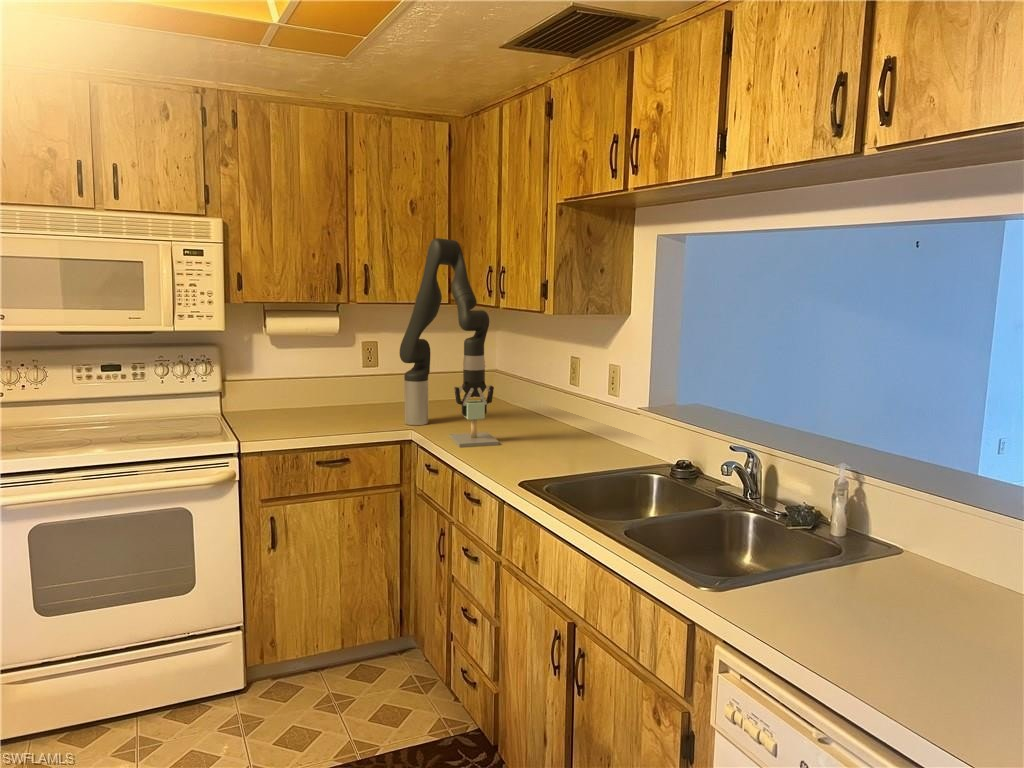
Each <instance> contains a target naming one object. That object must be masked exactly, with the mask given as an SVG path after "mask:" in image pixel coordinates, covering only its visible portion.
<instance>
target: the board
mask: <svg viewBox="0 0 1024 768" xmlns="http://www.w3.org/2000/svg"><path fill="white" fill-rule="evenodd" d="M477 424H478V419H470V432H465V433H462V432H461V433H450V434H449V438H450V439H451V440H452V441H453V442H454V444H455V445H457V446H458V447H459V448H473V447H487V446H489V447H490V446H499V445H500V441H499V440H498V439H496V438H495V436H493V435H492V434H490V432H488V431H484V432H483V431H482V432H478V430H477V428H478V427H477V426H478V425H477Z"/></svg>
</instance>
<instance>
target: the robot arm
mask: <svg viewBox="0 0 1024 768" xmlns="http://www.w3.org/2000/svg"><path fill="white" fill-rule="evenodd" d="M425 259H426V260H425V263H424V269H423V274H422V279H421V282H420V285H419V289H418V292H417V295H416V298H415V302H414V306H413V309H412V313H411V316H410V320H409V323H408V325H407V328H406V330H405V332H404V336H403V337H402V340H401V343H400V345H399V358H400V360H401V362H402V363H404V364H413V367H412V368H410V370H408V371H406V372H405V373H404V376H403V377H404V381H403V382H404V424H405V425H407V426H408V425H409V426H410V425H411V426H423V425H428V424H429V375H430V372H431V347H430V344H429V342H428V340H426V339H425V338H421V336H422V333H424V331H425V329H426V328H427V327H428V326H430V325H431V324H432V322H433V321H434V319H435V318H436V317H437V316H438V313H439V311H440V307H441V304H442V300H443V299H442V298H443V296H442V291H441V287H440V285H439V282H438V271H439V267H440V266H441V265H443V266H450V267H452V268H451V269H452V270H453V272H454V275H453V279H452V283H451V293H452V296H453V299H454V301H455V304H456V308H457V316H458V317H457V318H458V325H459V327H460V328H461V330H463V331H465V332H474V331H475V332H474V334H473V335H472V336H470V337H467V338H465V340H463V342H464V343H463V363H462V367H463V368H462V369H463V370H462V375H463V377H462V378H463V379H462V380H463V381H462V386H454V388H453V389H454V395H455V403H457V405H460V406H461V414H462V415H463V417H464V416H467V406H466V404H467V402H468V401H470V399H471V398H479V399H480V400H481V401H482V402H484V403H485V415H486V414H487V411H488V410H487V408H488V407H487V406H488V404H491V403H492V402H493V397H494V396H493V394H494V389H495V388H494V386H493V385H492V384H491V385H490V384H489V385H487V384H486V360H485V344H486V343H485V342H486V339H487V333H488V331H489V327H490V317H489V314H488V312H487V311H485V310H482V309H481V310H477V309H475V310H473V309H474V308H475V307H476V306H477V302H478V301H477V297H476V295H475V293H474V291H473V289H472V286H471V283H470V280H469V277H468V273H467V268H466V267H467V266H466V263H465V258H464V254H463V250H462V247H461V244H460V243H459V242H458V241H457V240H454V239H447V238H438V237H435V238H433V239H432V240H431V241H430V243H429V247H428V249H427V253H426V258H425ZM462 390H463V391H464V395H463V398H461V393H462ZM485 390H486V391H487V398H486V397H485V395H484V391H485Z"/></svg>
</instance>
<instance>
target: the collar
mask: <svg viewBox="0 0 1024 768" xmlns="http://www.w3.org/2000/svg"><path fill="white" fill-rule="evenodd" d="M466 406H467V416H464V415H463V417H464V418H465V419H467V420H469V421H471V419H477V420H483V419H485V417H486V414H485V403H484V402H482V401H481V400H479V399H478V400H468V402H467V404H466Z"/></svg>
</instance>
